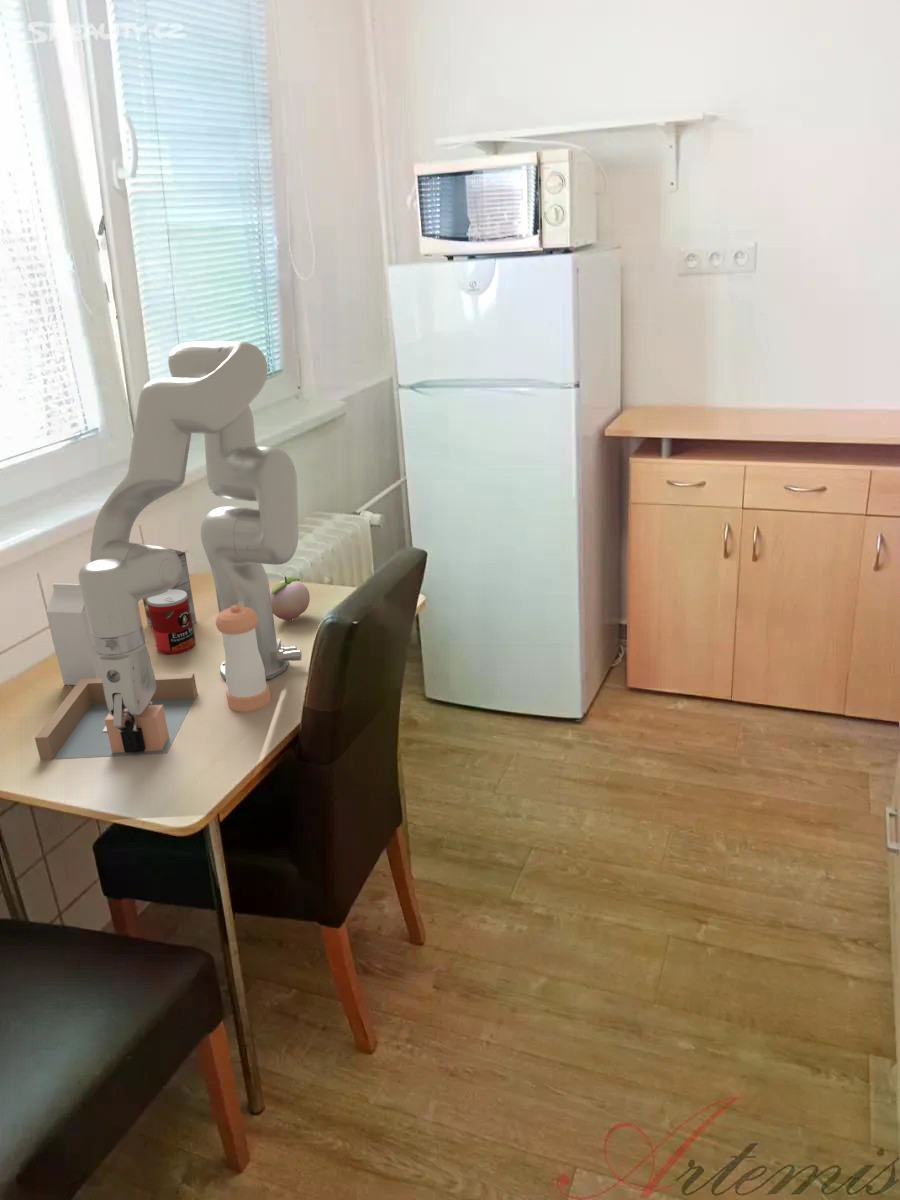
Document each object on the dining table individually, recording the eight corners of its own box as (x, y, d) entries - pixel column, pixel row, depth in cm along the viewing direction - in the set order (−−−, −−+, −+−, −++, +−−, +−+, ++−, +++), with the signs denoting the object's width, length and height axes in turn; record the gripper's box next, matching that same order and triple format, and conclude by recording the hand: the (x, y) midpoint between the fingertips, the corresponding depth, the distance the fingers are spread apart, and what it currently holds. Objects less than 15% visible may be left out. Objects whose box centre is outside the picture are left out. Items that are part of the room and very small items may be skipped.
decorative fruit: (300, 631, 189) (294, 586, 185) (264, 628, 191) (258, 583, 187) (319, 613, 197) (314, 570, 193) (285, 610, 199) (279, 567, 196)
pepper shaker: (234, 697, 163) (218, 598, 156) (275, 696, 163) (261, 596, 156) (224, 718, 157) (207, 615, 149) (266, 716, 156) (251, 613, 149)
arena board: (198, 698, 164) (193, 672, 162) (168, 759, 145) (162, 731, 143) (86, 704, 164) (80, 678, 162) (42, 766, 145) (34, 737, 143)
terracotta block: (169, 737, 149) (162, 704, 147) (162, 750, 146) (155, 717, 143) (120, 739, 149) (112, 707, 147) (112, 752, 146) (104, 719, 143)
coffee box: (146, 625, 196) (132, 554, 190) (169, 614, 201) (156, 545, 195) (175, 633, 191) (162, 560, 185) (198, 622, 196) (186, 551, 190)
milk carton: (98, 687, 170) (76, 592, 163) (63, 685, 171) (41, 591, 164) (118, 669, 176) (98, 577, 169) (84, 668, 178) (64, 576, 171)
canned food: (175, 658, 180) (166, 606, 176) (147, 650, 184) (137, 599, 180) (204, 643, 186) (195, 592, 182) (176, 635, 190) (167, 586, 186)
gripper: (126, 662, 132) (148, 770, 139) (158, 615, 148) (177, 714, 155) (74, 665, 132) (99, 772, 139) (112, 618, 148) (133, 717, 155)
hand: (140, 741), depth 147 cm, fingers open, 4 cm apart
